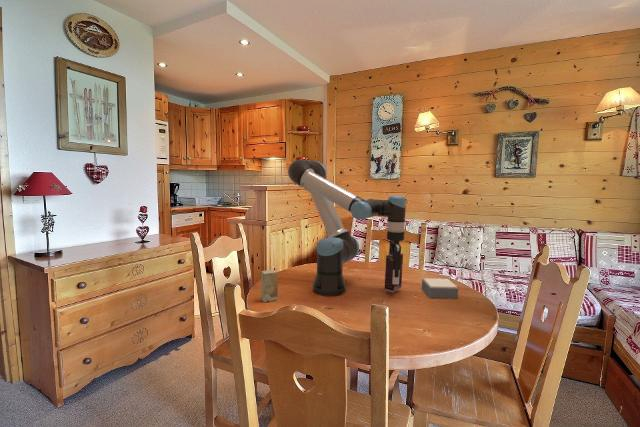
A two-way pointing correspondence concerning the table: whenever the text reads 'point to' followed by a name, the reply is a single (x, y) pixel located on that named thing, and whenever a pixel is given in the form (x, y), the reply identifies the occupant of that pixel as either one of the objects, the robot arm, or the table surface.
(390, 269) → the supplement box
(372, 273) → the table surface
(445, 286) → the platform
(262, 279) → the skincare box
